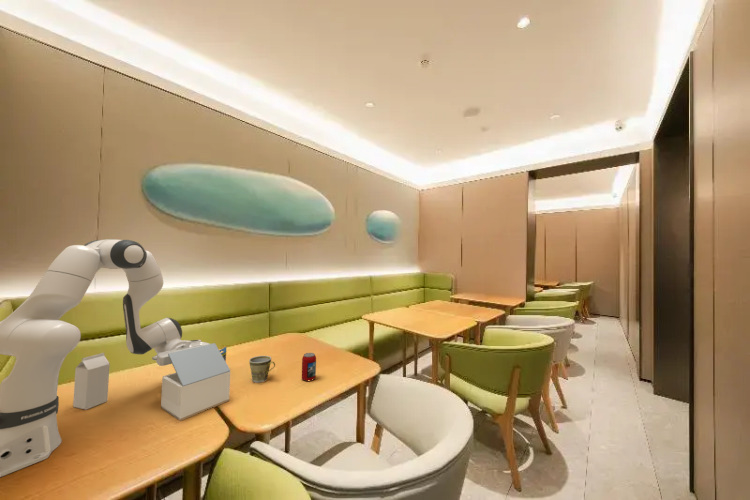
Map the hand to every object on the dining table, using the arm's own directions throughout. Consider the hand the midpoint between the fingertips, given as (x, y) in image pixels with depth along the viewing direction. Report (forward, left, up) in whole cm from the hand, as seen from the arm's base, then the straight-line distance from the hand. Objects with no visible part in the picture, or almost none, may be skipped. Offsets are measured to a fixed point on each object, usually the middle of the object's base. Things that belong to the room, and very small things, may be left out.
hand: (195, 357), depth 116 cm
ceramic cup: (+27, -11, -18) cm, 35 cm away
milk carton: (-15, +36, -18) cm, 43 cm away
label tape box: (+26, +16, -18) cm, 36 cm away
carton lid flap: (-1, -4, -1) cm, 4 cm away
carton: (-1, -2, -18) cm, 18 cm away
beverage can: (+36, -31, -18) cm, 51 cm away
